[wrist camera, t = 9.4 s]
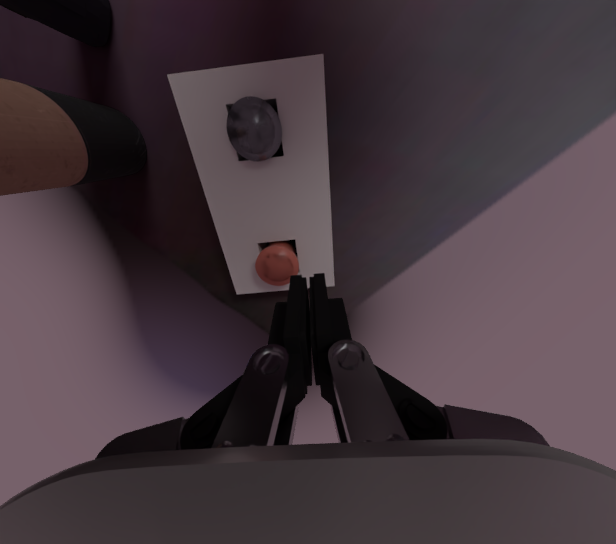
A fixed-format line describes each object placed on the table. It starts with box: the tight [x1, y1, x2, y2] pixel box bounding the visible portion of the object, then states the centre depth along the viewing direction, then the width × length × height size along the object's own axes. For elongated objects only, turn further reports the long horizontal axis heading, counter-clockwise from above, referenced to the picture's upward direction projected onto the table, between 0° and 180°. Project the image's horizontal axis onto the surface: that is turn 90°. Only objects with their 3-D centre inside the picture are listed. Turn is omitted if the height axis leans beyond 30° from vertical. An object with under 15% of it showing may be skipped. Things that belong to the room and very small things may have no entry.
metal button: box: [226, 96, 282, 161], centre depth 23 cm, size 5×5×4 cm
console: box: [167, 54, 335, 294], centre depth 27 cm, size 24×14×5 cm, turn 6°
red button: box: [255, 240, 299, 286], centre depth 28 cm, size 5×5×4 cm
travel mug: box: [0, 78, 147, 196], centre depth 17 cm, size 8×8×20 cm
